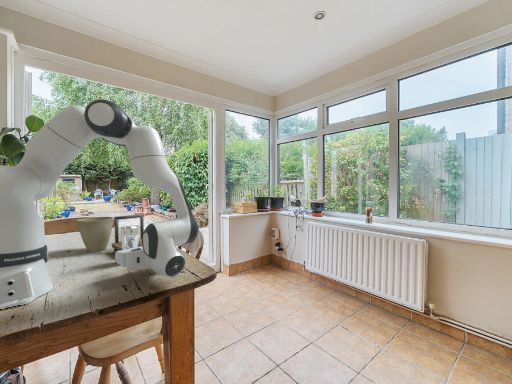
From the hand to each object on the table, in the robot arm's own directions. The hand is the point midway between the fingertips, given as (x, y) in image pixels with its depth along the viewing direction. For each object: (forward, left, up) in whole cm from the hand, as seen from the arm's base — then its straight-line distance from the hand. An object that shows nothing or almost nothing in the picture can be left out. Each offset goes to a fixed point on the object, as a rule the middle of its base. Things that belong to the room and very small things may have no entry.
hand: (138, 247), depth 92 cm
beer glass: (0, +9, -8) cm, 12 cm away
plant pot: (-5, +39, -8) cm, 40 cm away
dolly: (+7, +23, -8) cm, 26 cm away
